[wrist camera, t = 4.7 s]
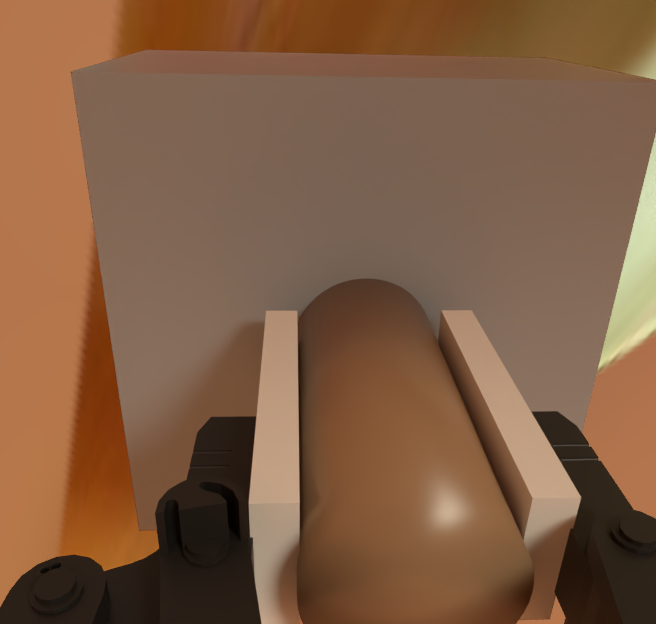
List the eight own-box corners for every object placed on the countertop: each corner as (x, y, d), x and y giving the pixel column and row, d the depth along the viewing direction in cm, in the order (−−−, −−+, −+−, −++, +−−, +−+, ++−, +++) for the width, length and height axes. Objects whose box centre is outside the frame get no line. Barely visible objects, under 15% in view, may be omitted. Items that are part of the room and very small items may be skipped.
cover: (545, 57, 21) (1056, 160, 7) (491, 390, 27) (710, 813, 13) (145, 49, 20) (-189, 146, 6) (179, 392, 26) (46, 844, 12)
